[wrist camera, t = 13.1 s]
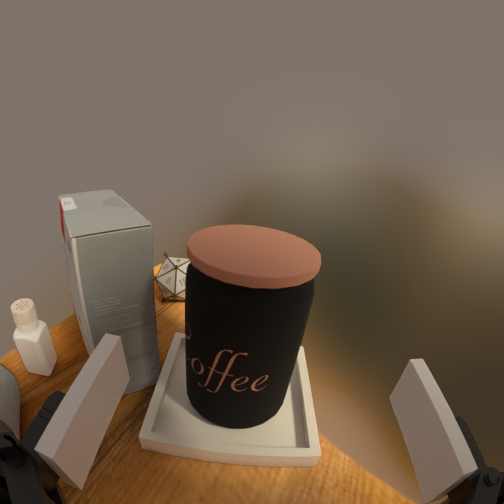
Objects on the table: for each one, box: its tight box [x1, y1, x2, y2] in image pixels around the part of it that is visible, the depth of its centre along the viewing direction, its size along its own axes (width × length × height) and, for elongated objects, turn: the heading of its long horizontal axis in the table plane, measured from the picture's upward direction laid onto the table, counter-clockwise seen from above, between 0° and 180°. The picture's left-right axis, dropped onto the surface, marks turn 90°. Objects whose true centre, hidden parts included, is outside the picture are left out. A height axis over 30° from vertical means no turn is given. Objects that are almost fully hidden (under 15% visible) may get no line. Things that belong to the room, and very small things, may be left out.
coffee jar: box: [185, 225, 321, 429], centre depth 27 cm, size 11×11×18 cm
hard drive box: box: [59, 190, 161, 396], centre depth 31 cm, size 16×8×20 cm, turn 40°
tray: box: [139, 332, 321, 467], centre depth 30 cm, size 17×17×2 cm
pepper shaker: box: [11, 298, 57, 376], centre depth 27 cm, size 4×4×10 cm
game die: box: [154, 252, 191, 302], centre depth 48 cm, size 9×8×10 cm
